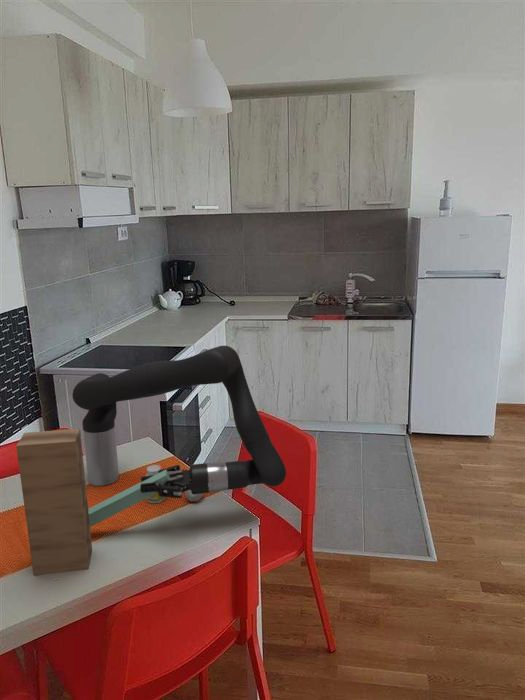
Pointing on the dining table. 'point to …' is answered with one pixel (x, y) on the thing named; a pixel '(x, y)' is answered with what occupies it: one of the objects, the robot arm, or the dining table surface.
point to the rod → (123, 500)
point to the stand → (55, 500)
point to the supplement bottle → (151, 471)
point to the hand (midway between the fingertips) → (141, 484)
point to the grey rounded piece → (193, 496)
